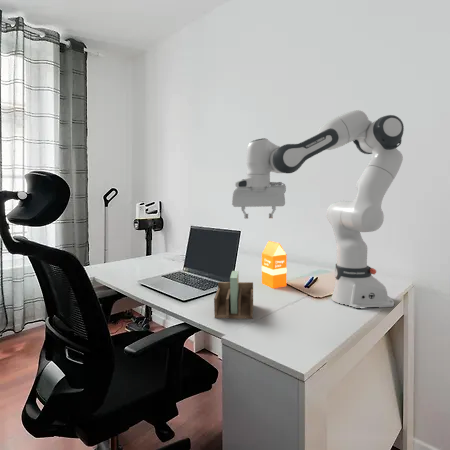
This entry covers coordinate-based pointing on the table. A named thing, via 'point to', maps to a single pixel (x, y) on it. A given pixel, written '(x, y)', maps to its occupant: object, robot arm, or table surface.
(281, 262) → the orange juice
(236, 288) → the board
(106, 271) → the table surface
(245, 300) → the file sorter
